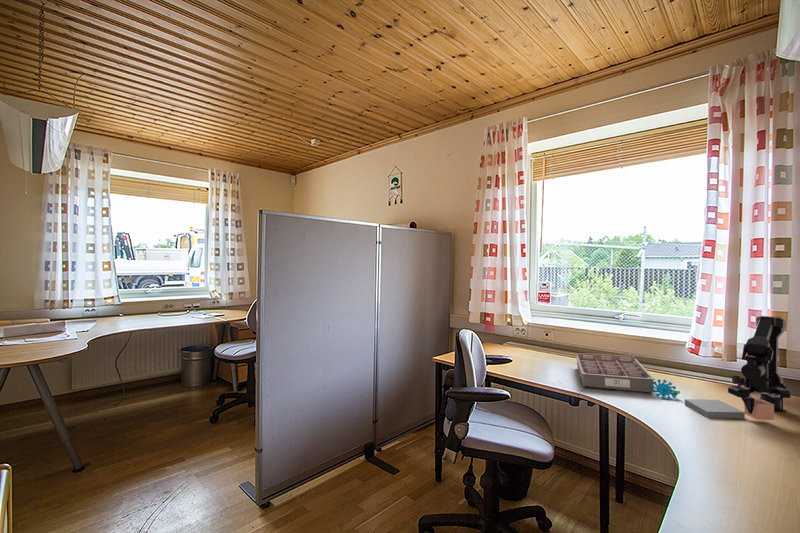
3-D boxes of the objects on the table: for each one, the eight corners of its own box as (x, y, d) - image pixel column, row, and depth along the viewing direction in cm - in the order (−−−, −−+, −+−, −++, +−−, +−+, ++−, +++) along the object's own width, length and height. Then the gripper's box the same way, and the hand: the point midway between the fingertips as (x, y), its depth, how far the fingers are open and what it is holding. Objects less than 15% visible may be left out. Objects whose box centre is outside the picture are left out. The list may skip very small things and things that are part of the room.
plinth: (718, 405, 163) (718, 399, 163) (744, 418, 149) (744, 412, 149) (684, 404, 164) (684, 399, 164) (707, 417, 150) (707, 411, 150)
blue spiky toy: (650, 394, 174) (652, 376, 179) (649, 399, 178) (651, 382, 183) (679, 402, 167) (681, 382, 173) (677, 407, 171) (679, 388, 176)
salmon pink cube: (760, 413, 148) (760, 398, 148) (774, 419, 142) (773, 404, 142) (744, 413, 149) (744, 398, 149) (757, 419, 143) (757, 404, 143)
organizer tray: (581, 389, 188) (581, 369, 188) (575, 368, 225) (575, 352, 225) (655, 396, 176) (655, 375, 176) (636, 372, 213) (636, 355, 213)
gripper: (766, 368, 152) (766, 406, 152) (717, 368, 154) (718, 405, 154) (791, 376, 141) (792, 417, 141) (738, 376, 143) (739, 416, 143)
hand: (759, 413), depth 145 cm, fingers closed on salmon pink cube, 6 cm apart
